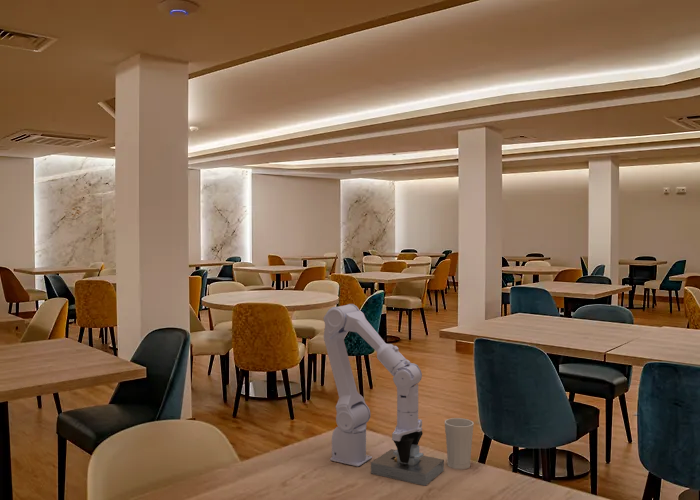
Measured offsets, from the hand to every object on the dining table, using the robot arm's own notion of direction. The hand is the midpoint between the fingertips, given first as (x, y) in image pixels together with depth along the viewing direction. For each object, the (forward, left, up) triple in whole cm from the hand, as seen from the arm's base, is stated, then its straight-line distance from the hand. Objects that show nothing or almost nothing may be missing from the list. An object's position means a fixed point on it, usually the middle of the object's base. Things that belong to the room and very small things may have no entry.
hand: (407, 459), depth 169 cm
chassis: (0, 0, -3) cm, 3 cm away
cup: (+10, +12, -3) cm, 16 cm away
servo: (0, 0, -2) cm, 2 cm away
